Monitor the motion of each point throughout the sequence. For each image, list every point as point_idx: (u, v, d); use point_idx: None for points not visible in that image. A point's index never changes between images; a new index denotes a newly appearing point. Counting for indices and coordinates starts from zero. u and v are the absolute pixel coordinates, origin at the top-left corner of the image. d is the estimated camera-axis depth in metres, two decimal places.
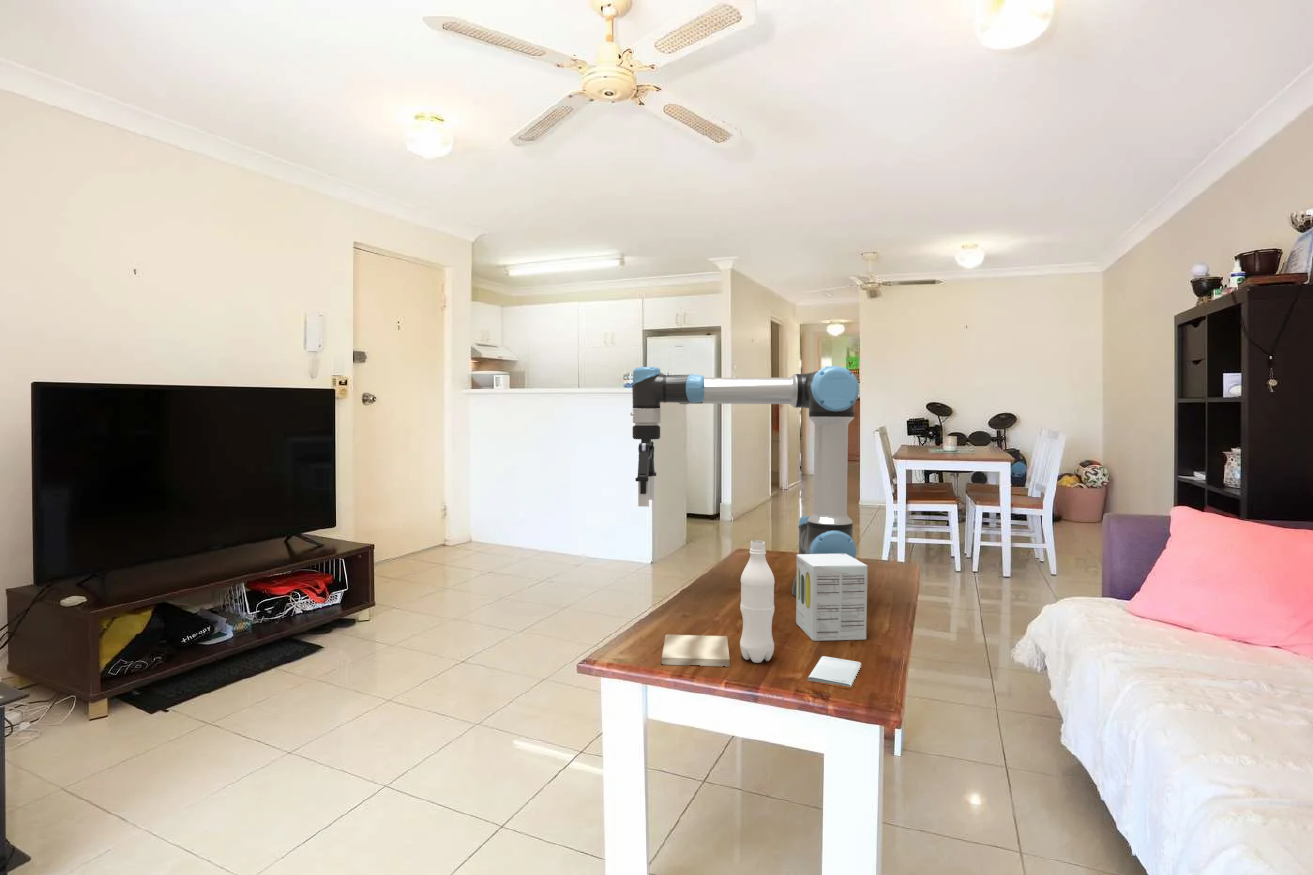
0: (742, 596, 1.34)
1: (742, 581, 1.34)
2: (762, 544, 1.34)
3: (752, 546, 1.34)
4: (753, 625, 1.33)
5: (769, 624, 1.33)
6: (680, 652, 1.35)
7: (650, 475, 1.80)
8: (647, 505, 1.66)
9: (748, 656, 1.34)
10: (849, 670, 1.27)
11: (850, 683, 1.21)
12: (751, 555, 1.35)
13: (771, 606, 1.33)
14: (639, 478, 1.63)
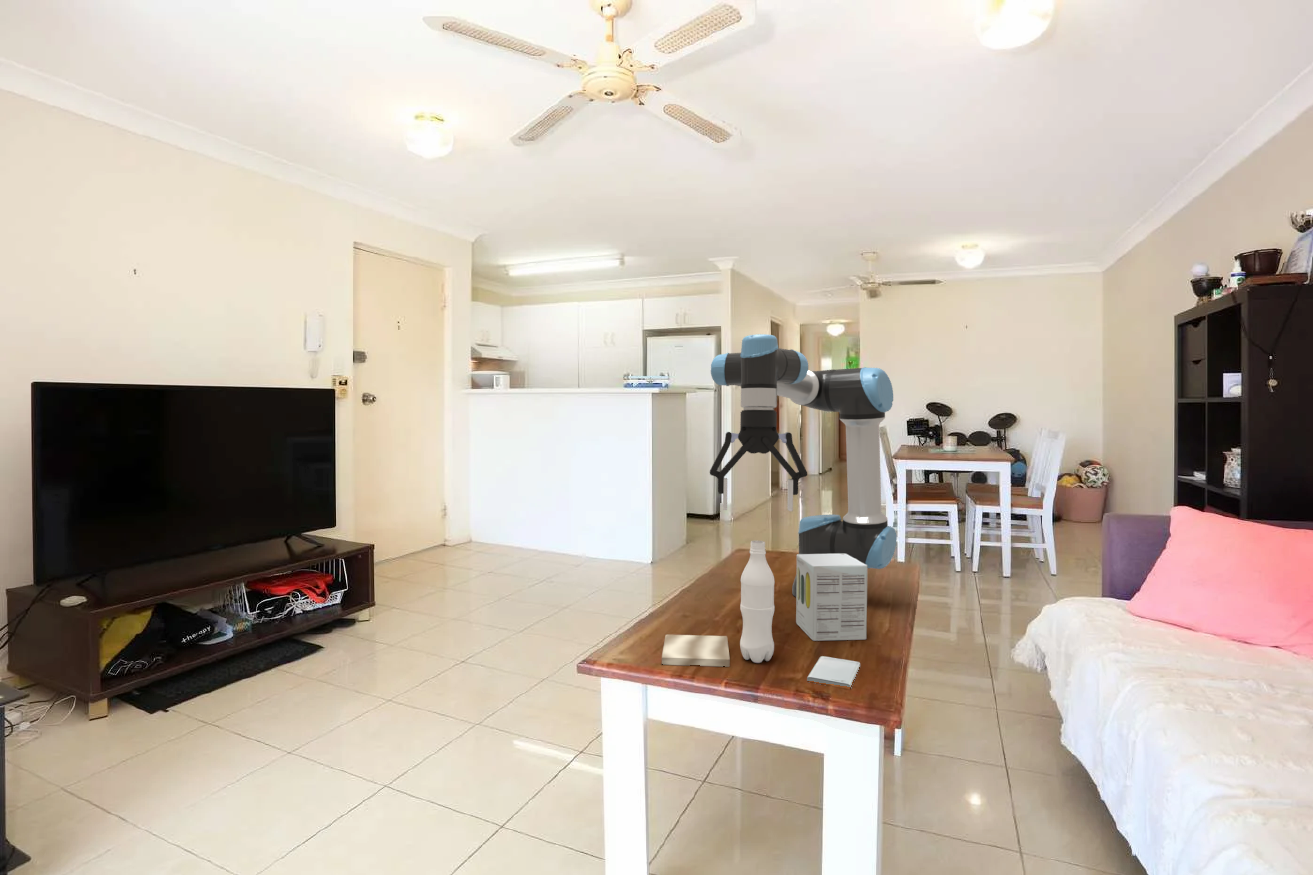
0: (742, 596, 1.34)
1: (742, 581, 1.34)
2: (762, 544, 1.34)
3: (752, 546, 1.34)
4: (753, 625, 1.33)
5: (769, 624, 1.33)
6: (680, 652, 1.35)
7: (792, 478, 1.33)
8: (723, 508, 1.34)
9: (748, 656, 1.34)
10: (848, 670, 1.27)
11: (849, 683, 1.21)
12: (751, 555, 1.35)
13: (771, 606, 1.33)
14: None
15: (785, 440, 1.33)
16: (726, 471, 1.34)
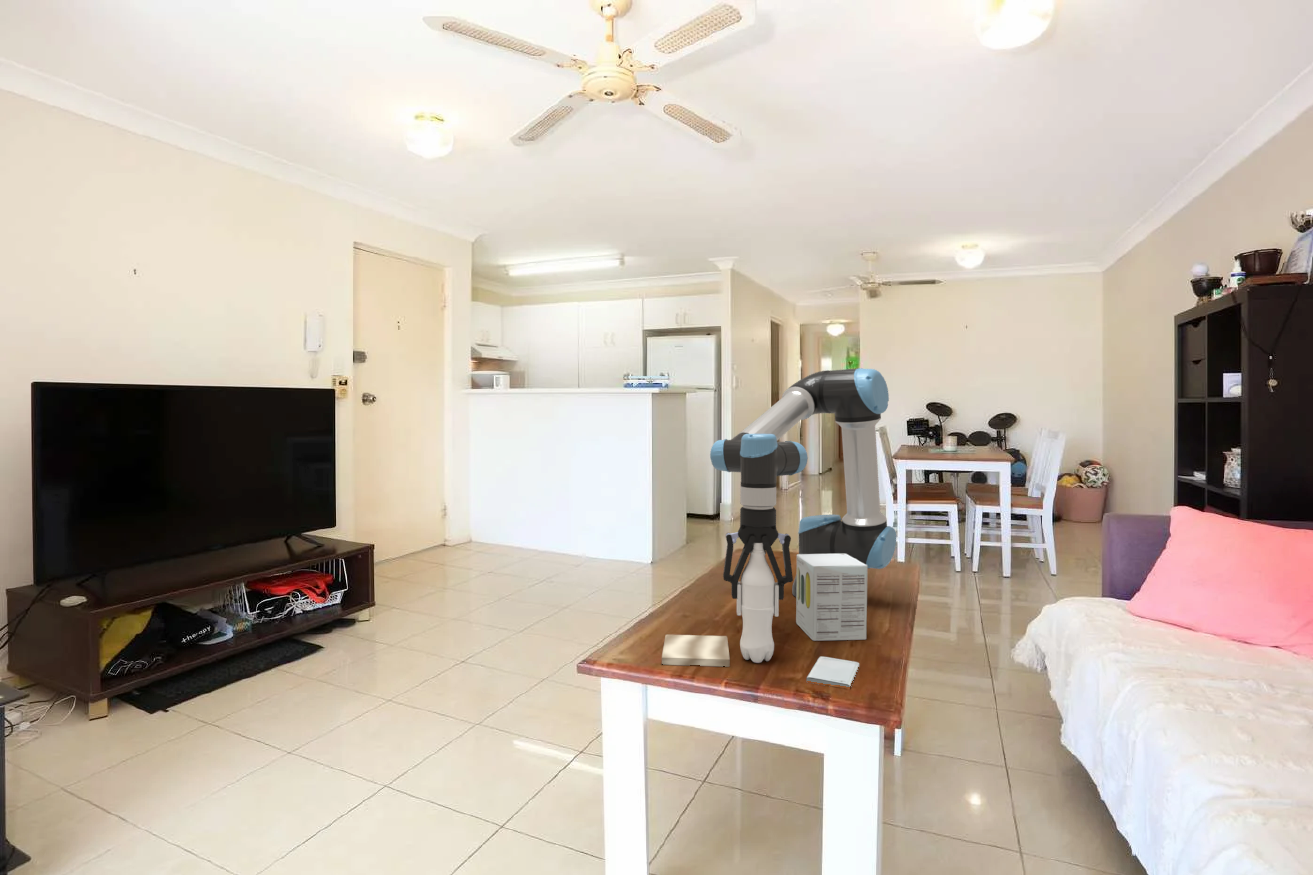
0: (742, 596, 1.34)
1: (742, 581, 1.34)
2: (762, 544, 1.34)
3: None
4: (753, 625, 1.33)
5: (769, 624, 1.33)
6: (680, 652, 1.35)
7: (777, 582, 1.35)
8: (737, 613, 1.35)
9: (748, 656, 1.34)
10: (847, 670, 1.27)
11: (849, 683, 1.21)
12: (751, 555, 1.35)
13: (771, 606, 1.33)
14: None
15: (783, 542, 1.33)
16: (738, 575, 1.34)
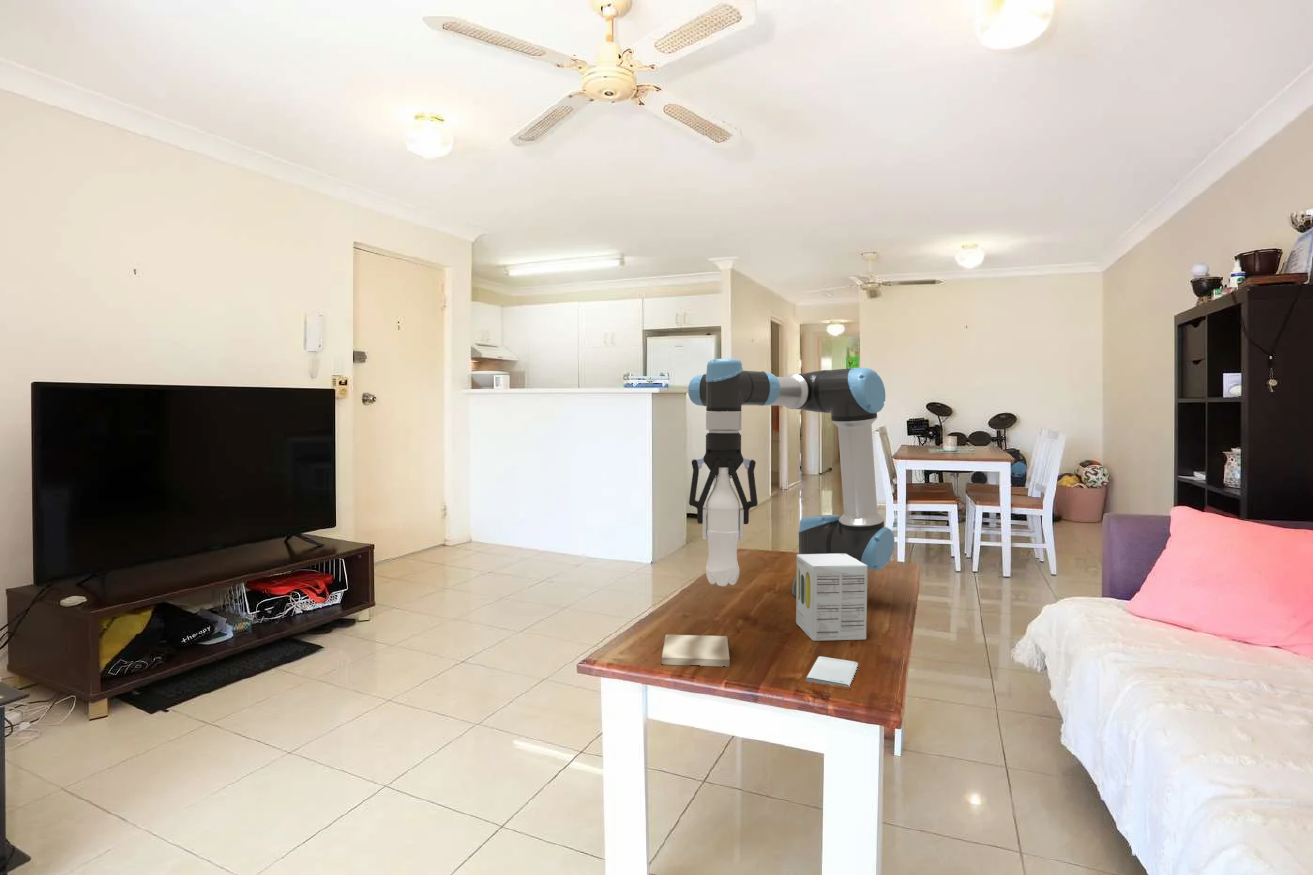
0: (707, 521, 1.35)
1: (707, 506, 1.35)
2: (727, 469, 1.35)
3: None
4: (718, 549, 1.34)
5: (734, 548, 1.34)
6: (680, 652, 1.35)
7: None
8: None
9: (713, 580, 1.35)
10: (846, 670, 1.27)
11: (848, 683, 1.21)
12: (716, 480, 1.36)
13: (736, 530, 1.34)
14: None
15: (747, 466, 1.35)
16: (703, 500, 1.35)
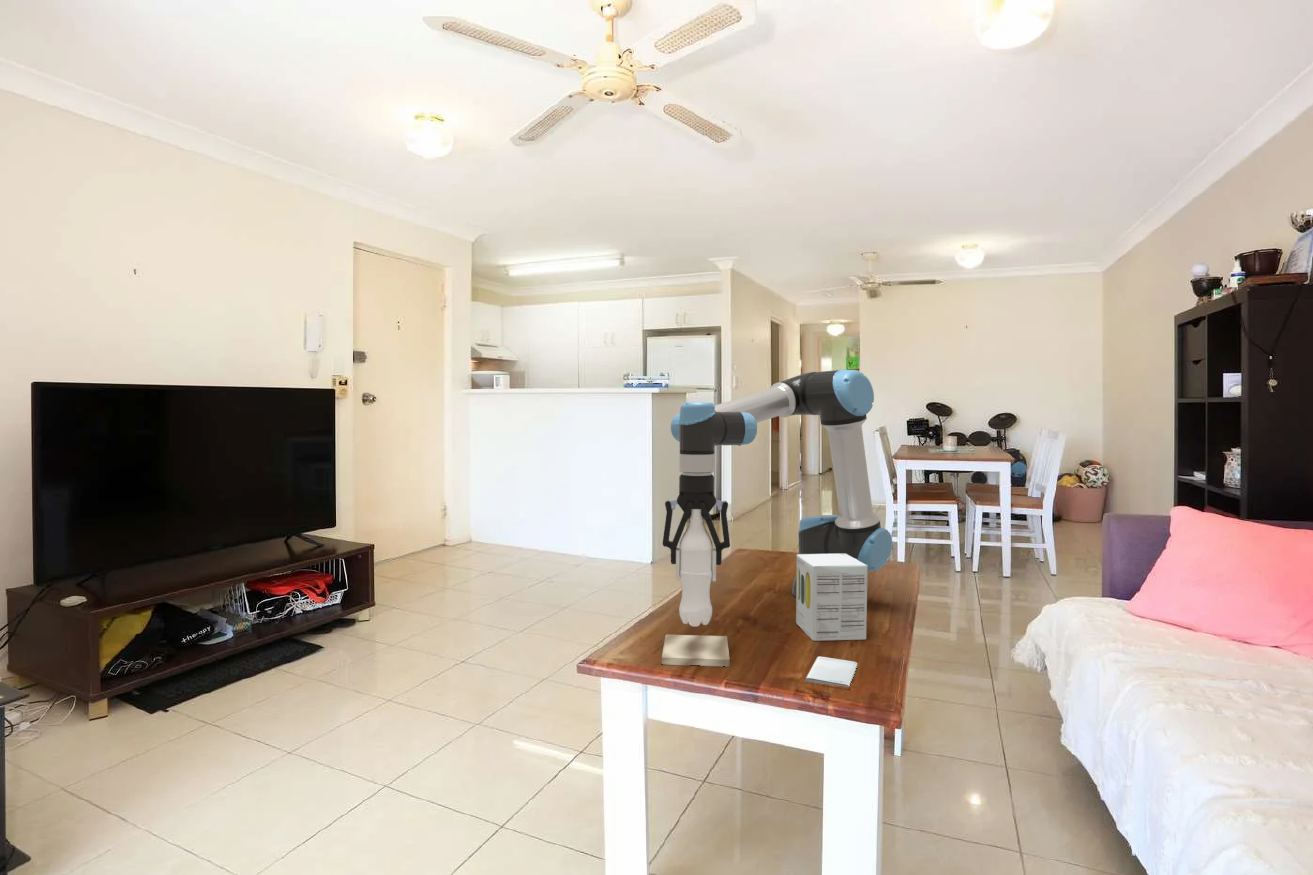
0: (681, 561, 1.37)
1: (680, 546, 1.37)
2: (700, 510, 1.36)
3: None
4: (691, 590, 1.35)
5: (706, 589, 1.36)
6: (680, 652, 1.35)
7: None
8: None
9: (686, 620, 1.37)
10: (846, 670, 1.27)
11: (848, 683, 1.21)
12: (689, 521, 1.37)
13: (708, 571, 1.36)
14: None
15: (720, 508, 1.36)
16: (677, 541, 1.37)
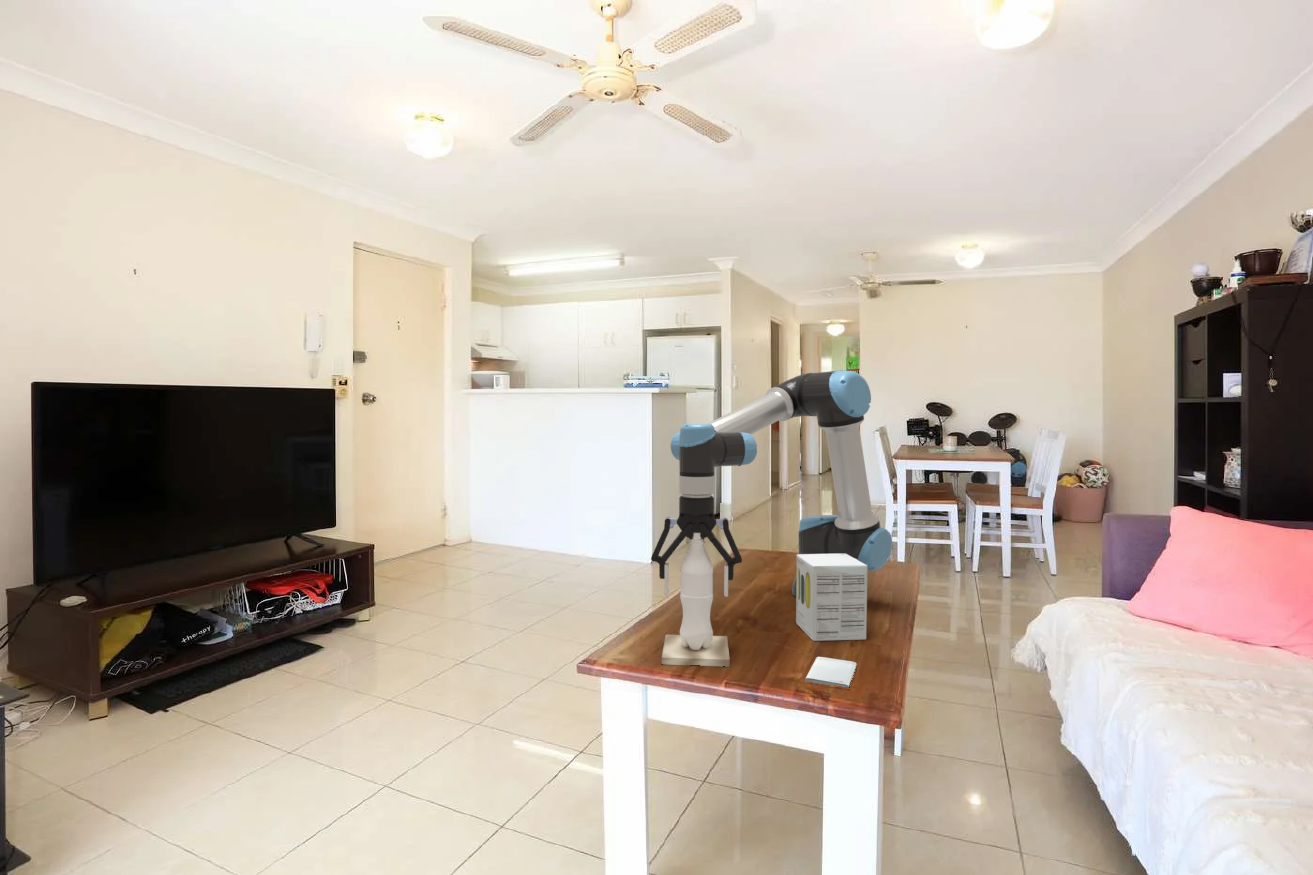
0: (681, 585, 1.37)
1: (681, 570, 1.37)
2: None
3: None
4: (692, 613, 1.36)
5: (707, 612, 1.36)
6: (680, 652, 1.35)
7: None
8: None
9: (687, 644, 1.37)
10: (845, 670, 1.27)
11: (848, 683, 1.21)
12: (690, 545, 1.38)
13: (709, 594, 1.36)
14: None
15: (722, 527, 1.36)
16: (666, 557, 1.37)
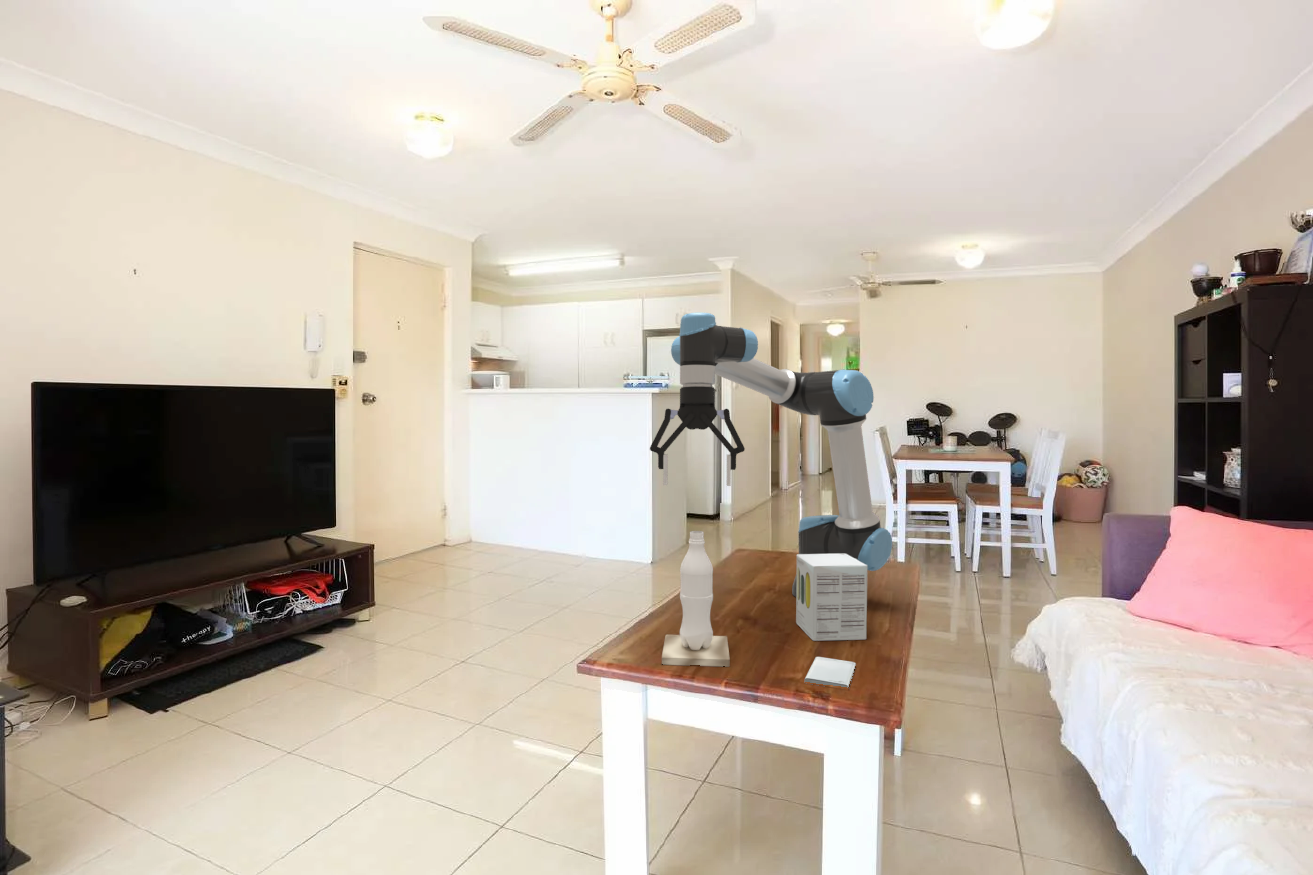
0: (681, 585, 1.37)
1: (681, 570, 1.37)
2: (700, 534, 1.37)
3: (691, 536, 1.37)
4: (691, 614, 1.36)
5: (707, 612, 1.36)
6: (680, 652, 1.35)
7: (730, 453, 1.36)
8: (663, 483, 1.37)
9: (687, 644, 1.37)
10: (845, 670, 1.27)
11: (847, 683, 1.21)
12: (690, 545, 1.37)
13: (709, 595, 1.36)
14: None
15: (723, 416, 1.36)
16: (666, 447, 1.37)
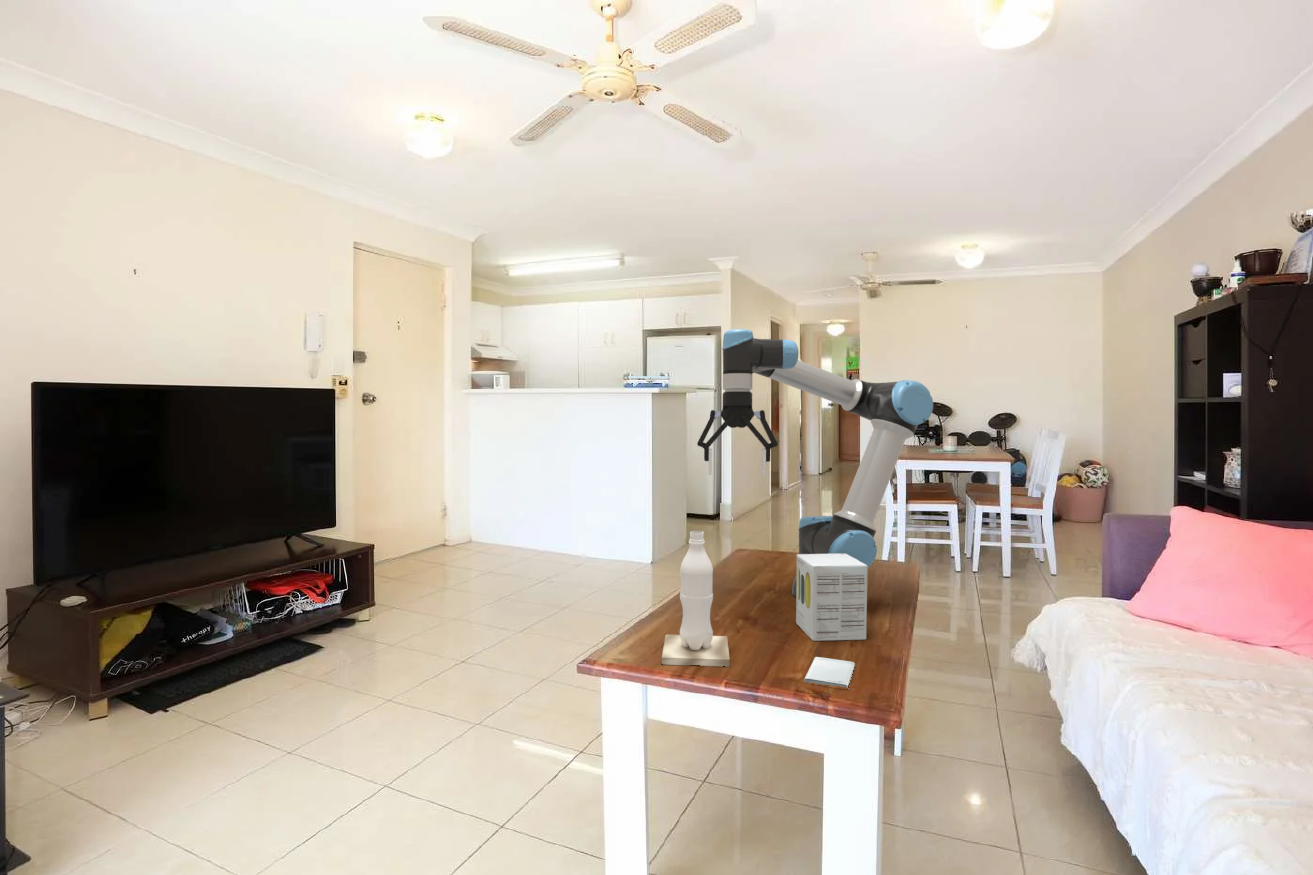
0: (681, 585, 1.37)
1: (681, 570, 1.37)
2: (700, 534, 1.37)
3: (691, 536, 1.37)
4: (691, 614, 1.36)
5: (707, 612, 1.36)
6: (680, 652, 1.35)
7: (765, 448, 1.62)
8: None
9: (687, 644, 1.37)
10: (844, 670, 1.27)
11: (847, 683, 1.21)
12: (690, 545, 1.37)
13: (709, 595, 1.36)
14: None
15: (759, 416, 1.61)
16: (711, 442, 1.62)
